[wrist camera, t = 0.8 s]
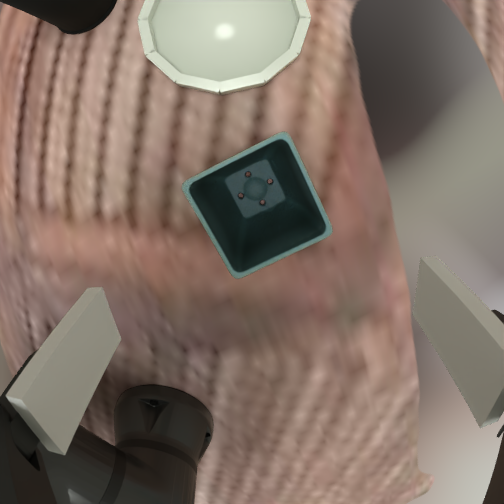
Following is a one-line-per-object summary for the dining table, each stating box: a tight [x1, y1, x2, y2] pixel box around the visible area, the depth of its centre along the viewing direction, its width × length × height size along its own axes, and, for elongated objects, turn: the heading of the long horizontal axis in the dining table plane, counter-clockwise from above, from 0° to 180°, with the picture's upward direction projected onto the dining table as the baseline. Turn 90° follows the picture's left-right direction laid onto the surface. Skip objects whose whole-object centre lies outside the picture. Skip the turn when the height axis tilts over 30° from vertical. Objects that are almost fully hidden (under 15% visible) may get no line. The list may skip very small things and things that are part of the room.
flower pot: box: [182, 132, 333, 279], centre depth 28 cm, size 9×9×9 cm
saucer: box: [138, 0, 311, 95], centre depth 25 cm, size 16×16×2 cm
